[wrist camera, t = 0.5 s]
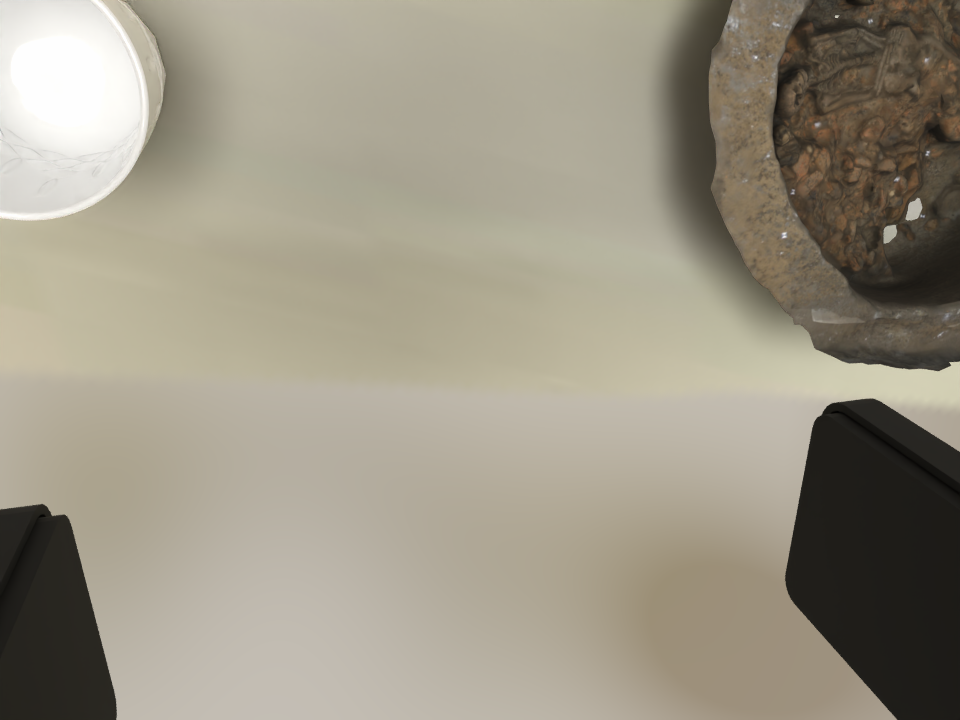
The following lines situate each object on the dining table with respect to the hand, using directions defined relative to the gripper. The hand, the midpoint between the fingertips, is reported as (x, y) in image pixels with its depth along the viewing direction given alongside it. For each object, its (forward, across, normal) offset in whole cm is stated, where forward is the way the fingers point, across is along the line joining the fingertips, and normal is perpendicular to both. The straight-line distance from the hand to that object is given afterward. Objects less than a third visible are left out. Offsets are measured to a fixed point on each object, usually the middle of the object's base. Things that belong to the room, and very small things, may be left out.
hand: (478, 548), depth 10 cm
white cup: (+30, +10, -4) cm, 32 cm away
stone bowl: (+30, -28, -2) cm, 41 cm away
